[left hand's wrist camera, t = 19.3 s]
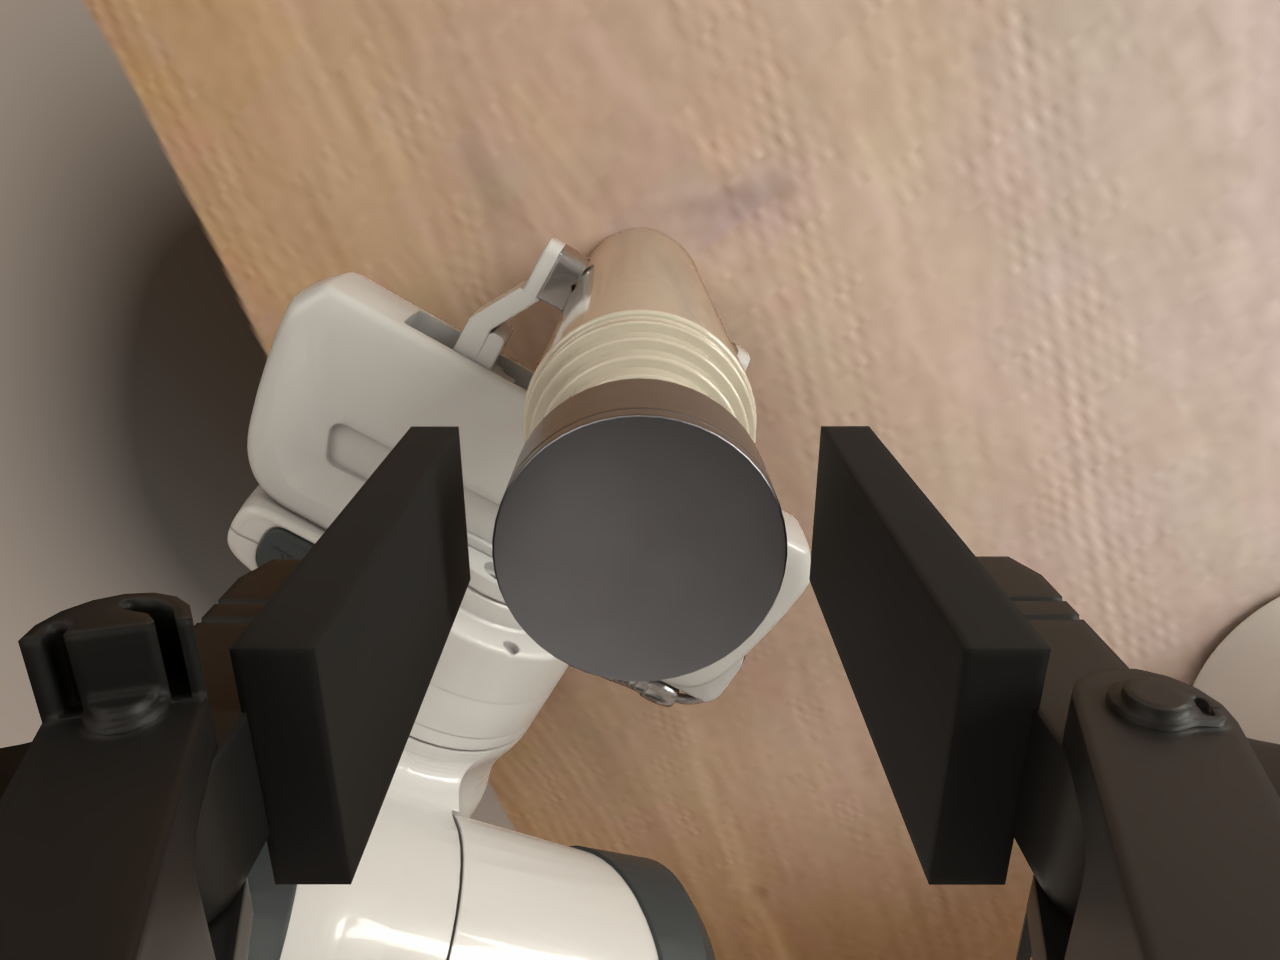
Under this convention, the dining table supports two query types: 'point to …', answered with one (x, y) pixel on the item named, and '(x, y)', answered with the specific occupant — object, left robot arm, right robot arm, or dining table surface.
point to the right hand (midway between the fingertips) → (651, 296)
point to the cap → (639, 532)
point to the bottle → (639, 331)
